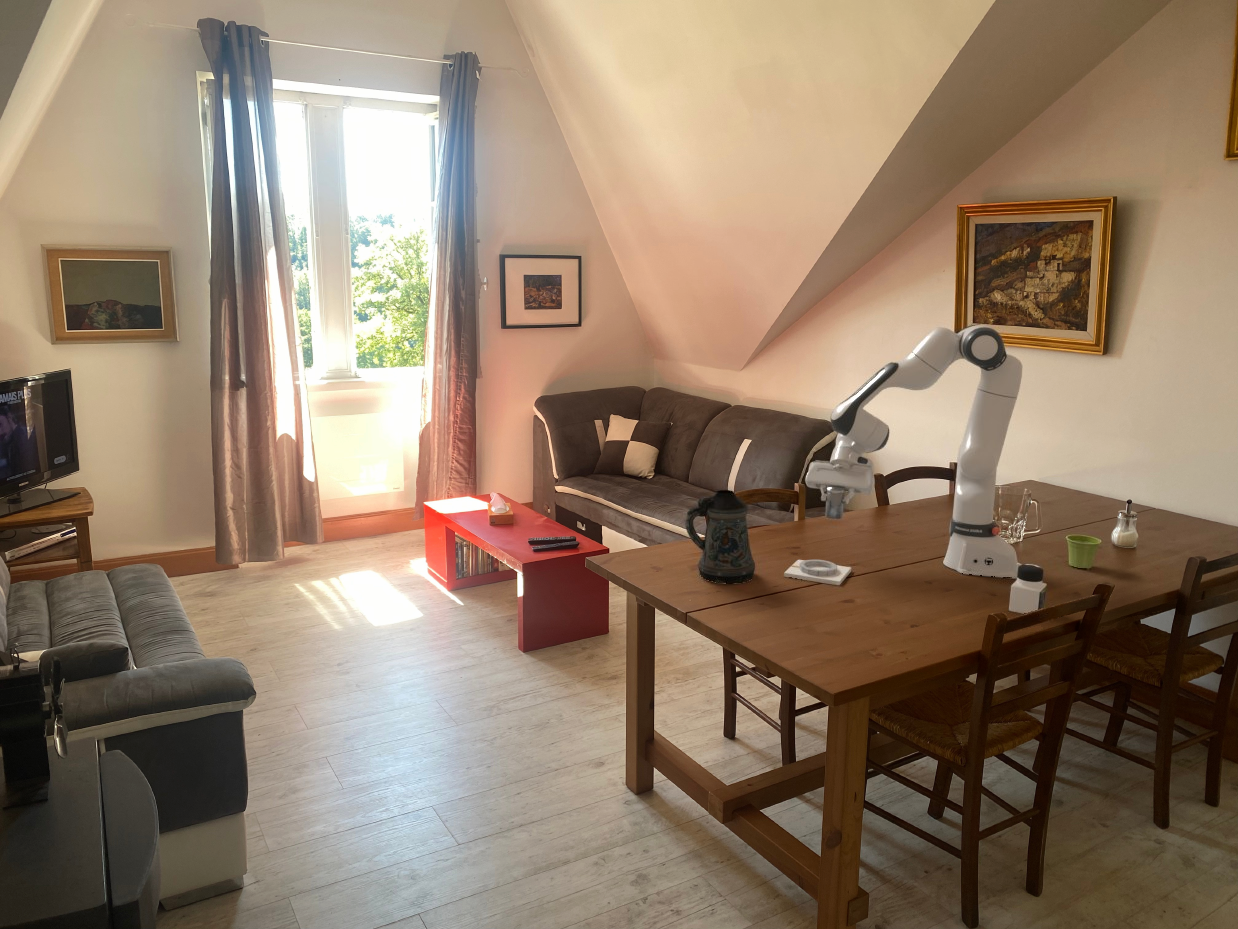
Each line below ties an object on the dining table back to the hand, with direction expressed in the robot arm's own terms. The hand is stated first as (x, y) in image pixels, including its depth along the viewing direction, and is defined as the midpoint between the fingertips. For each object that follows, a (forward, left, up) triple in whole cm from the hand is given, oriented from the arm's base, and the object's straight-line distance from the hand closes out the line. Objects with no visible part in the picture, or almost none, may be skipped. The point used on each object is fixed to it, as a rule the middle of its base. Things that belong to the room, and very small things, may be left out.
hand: (834, 501), depth 268 cm
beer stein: (+25, +26, -20) cm, 41 cm away
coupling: (0, -1, -5) cm, 5 cm away
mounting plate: (+1, +11, -20) cm, 22 cm away
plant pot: (-67, -33, -20) cm, 77 cm away
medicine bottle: (-55, +14, -20) cm, 60 cm away
